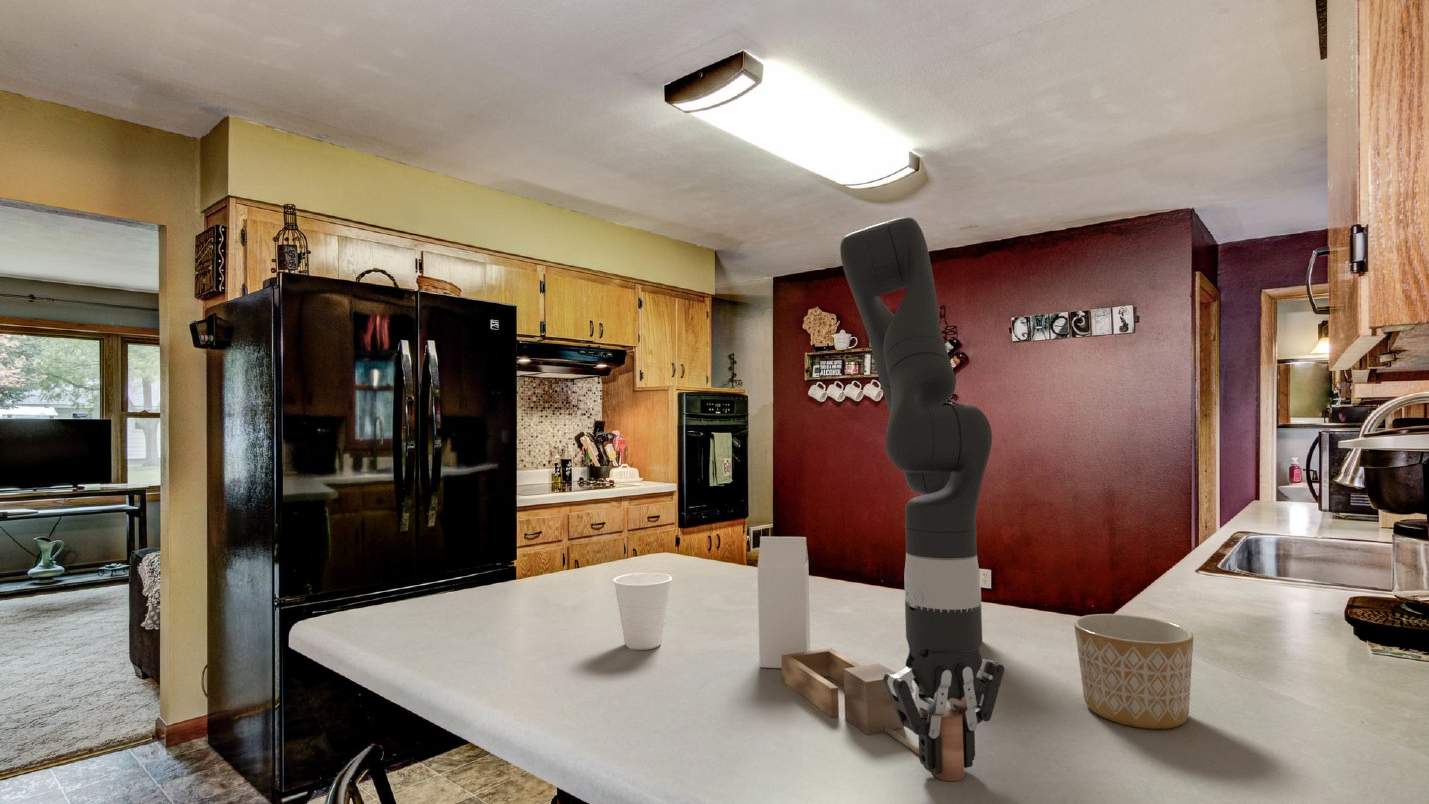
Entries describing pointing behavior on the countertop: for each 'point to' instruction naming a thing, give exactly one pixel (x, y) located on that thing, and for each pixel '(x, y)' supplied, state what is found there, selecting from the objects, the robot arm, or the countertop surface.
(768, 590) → the milk carton
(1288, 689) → the countertop surface
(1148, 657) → the planter
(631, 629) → the cup
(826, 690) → the frame
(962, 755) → the tethered walnut block
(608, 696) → the countertop surface
